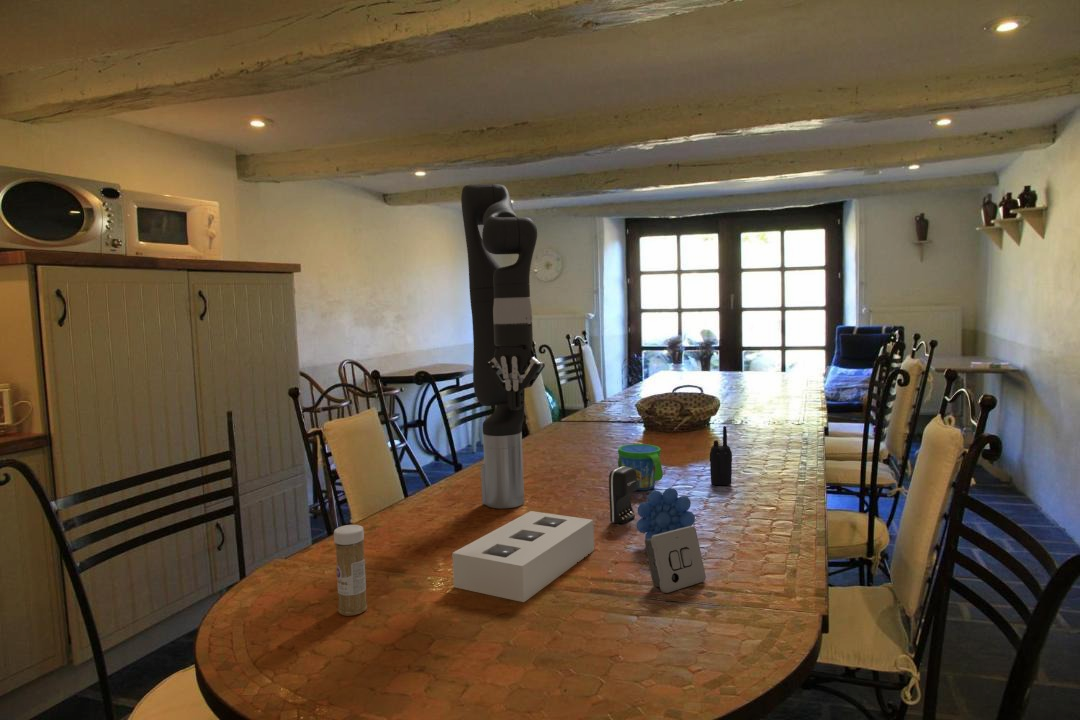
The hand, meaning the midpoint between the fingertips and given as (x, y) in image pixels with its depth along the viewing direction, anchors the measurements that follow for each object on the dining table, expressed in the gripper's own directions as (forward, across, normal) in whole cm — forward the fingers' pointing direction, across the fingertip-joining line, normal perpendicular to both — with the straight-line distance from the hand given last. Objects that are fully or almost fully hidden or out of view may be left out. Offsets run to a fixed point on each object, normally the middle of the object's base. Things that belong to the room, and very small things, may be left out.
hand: (516, 409), depth 139 cm
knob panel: (+27, +8, -10) cm, 30 cm away
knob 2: (+26, +8, -10) cm, 29 cm away
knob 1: (+26, +8, -19) cm, 33 cm away
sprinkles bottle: (+27, -8, -38) cm, 47 cm away
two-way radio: (+27, +24, +58) cm, 68 cm away
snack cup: (+27, +6, +48) cm, 55 cm away
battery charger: (+27, +13, +22) cm, 37 cm away
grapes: (+27, +27, +10) cm, 40 cm away
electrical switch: (+27, +34, -6) cm, 44 cm away
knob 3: (+26, +8, -2) cm, 27 cm away
